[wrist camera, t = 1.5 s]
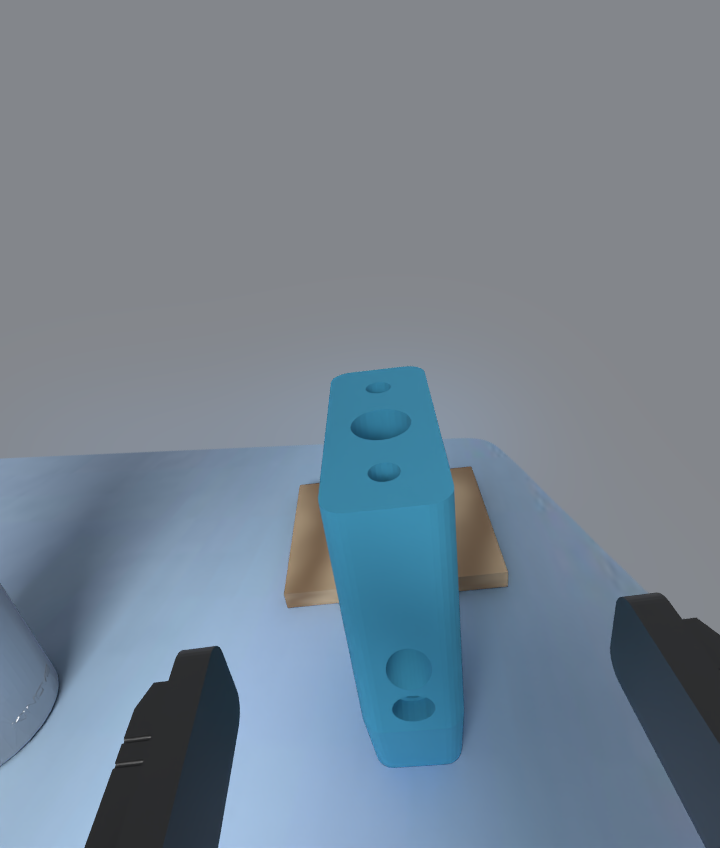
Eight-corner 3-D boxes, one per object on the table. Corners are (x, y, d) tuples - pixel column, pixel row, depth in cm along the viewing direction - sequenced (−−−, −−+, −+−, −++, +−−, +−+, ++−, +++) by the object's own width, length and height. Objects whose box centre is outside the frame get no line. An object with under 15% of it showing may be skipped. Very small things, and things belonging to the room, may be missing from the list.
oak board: (287, 607, 41) (283, 594, 40) (302, 497, 53) (299, 484, 52) (507, 586, 40) (508, 571, 39) (471, 478, 52) (471, 466, 51)
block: (372, 620, 39) (331, 375, 29) (440, 614, 38) (422, 364, 29) (377, 803, 28) (316, 515, 18) (470, 797, 28) (458, 501, 18)
